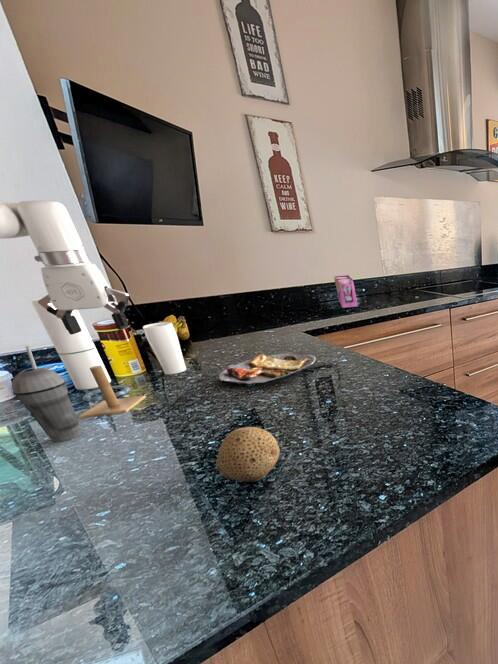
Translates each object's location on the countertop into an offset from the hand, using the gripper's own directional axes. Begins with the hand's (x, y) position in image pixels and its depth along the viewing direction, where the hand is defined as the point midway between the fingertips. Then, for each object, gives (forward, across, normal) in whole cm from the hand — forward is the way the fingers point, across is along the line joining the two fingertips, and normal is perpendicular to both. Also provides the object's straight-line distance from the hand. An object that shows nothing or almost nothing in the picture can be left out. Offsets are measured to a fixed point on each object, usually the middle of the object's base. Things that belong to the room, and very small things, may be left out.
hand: (100, 330), depth 98 cm
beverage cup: (+18, 0, -24) cm, 29 cm away
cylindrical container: (+18, -13, +10) cm, 24 cm away
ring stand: (+18, +2, -11) cm, 21 cm away
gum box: (+19, +47, +108) cm, 119 cm away
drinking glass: (+18, +5, +14) cm, 23 cm away
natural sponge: (+18, +44, -55) cm, 73 cm away
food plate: (+18, +33, +4) cm, 38 cm away
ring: (+17, -5, 0) cm, 18 cm away
